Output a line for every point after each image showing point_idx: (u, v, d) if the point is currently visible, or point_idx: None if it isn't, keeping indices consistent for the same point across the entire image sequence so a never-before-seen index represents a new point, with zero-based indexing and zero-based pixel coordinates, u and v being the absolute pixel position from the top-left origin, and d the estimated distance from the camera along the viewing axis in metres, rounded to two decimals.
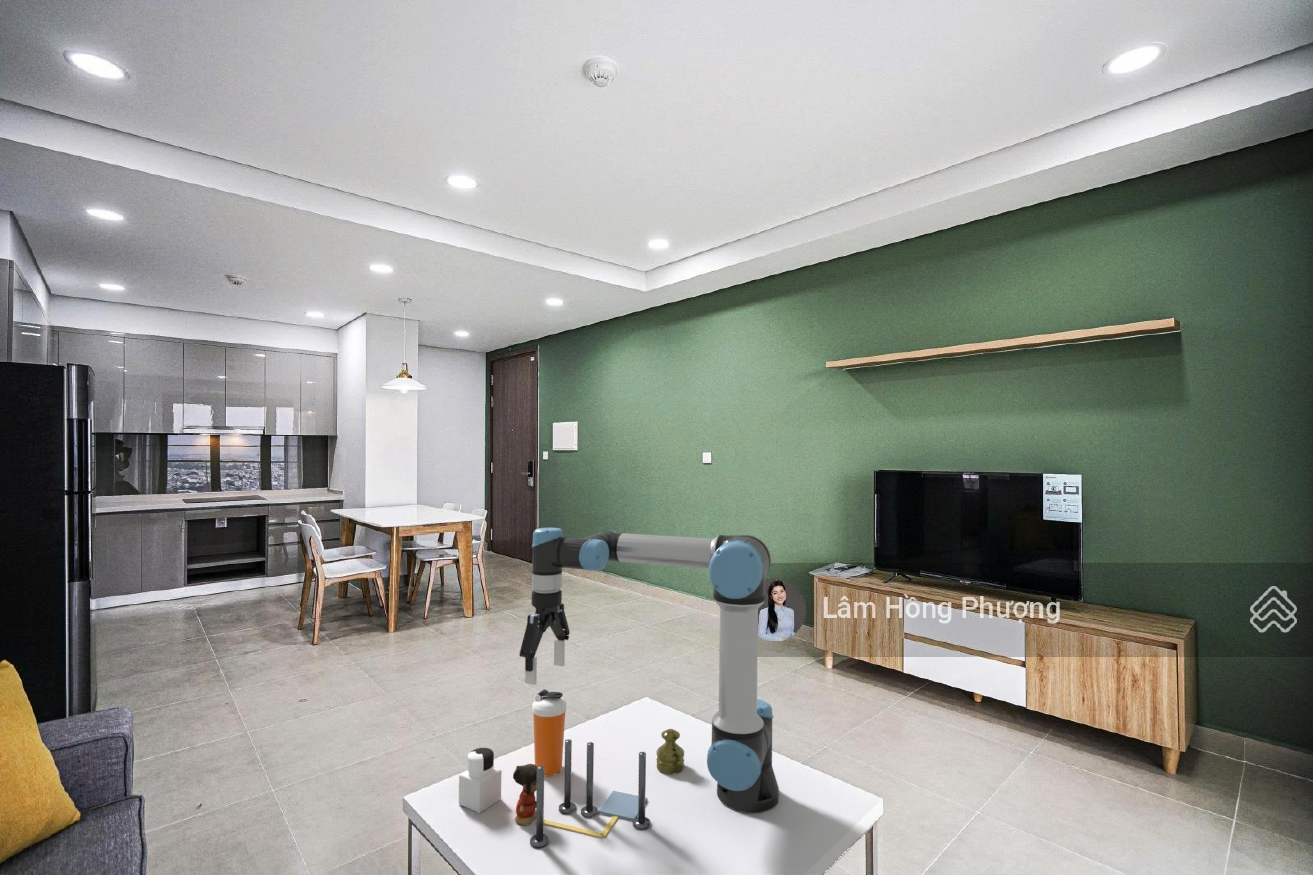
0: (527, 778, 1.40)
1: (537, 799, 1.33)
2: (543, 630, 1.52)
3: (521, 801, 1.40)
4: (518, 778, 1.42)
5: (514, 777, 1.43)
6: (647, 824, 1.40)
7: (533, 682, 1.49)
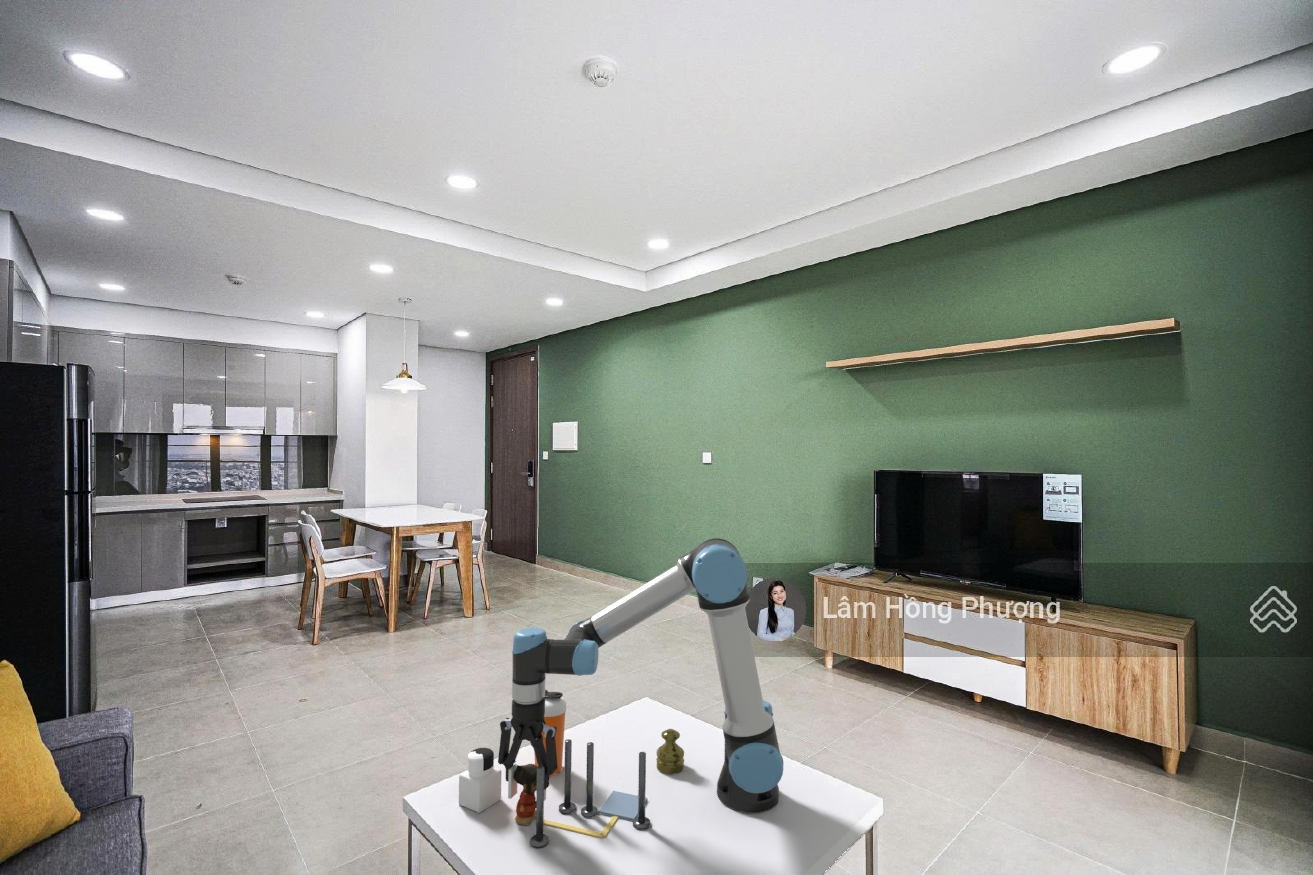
0: (528, 778, 1.40)
1: (537, 799, 1.33)
2: (514, 741, 1.42)
3: (521, 801, 1.40)
4: (518, 778, 1.42)
5: (514, 777, 1.43)
6: (647, 824, 1.40)
7: None
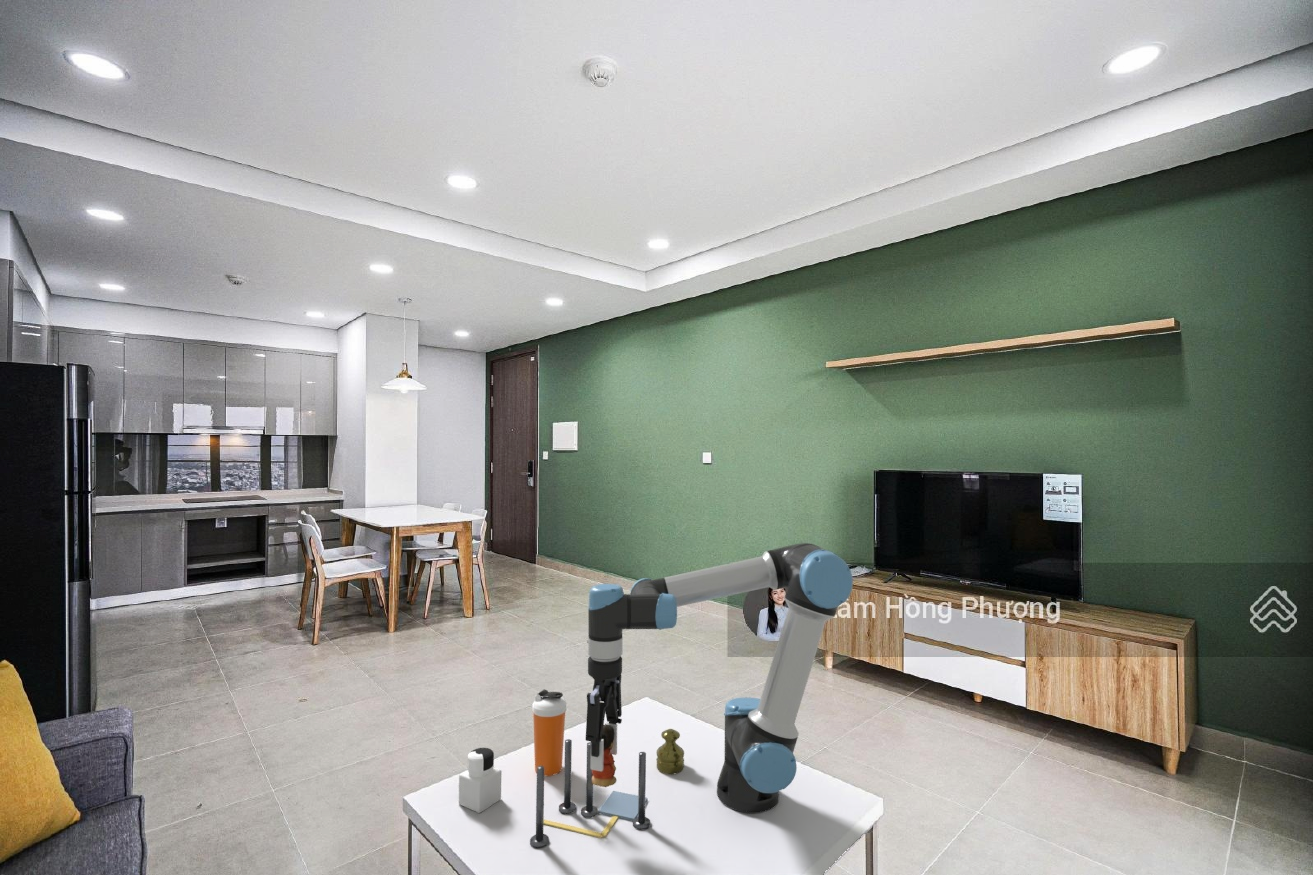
0: (613, 733, 1.37)
1: (537, 799, 1.33)
2: (606, 706, 1.33)
3: (613, 760, 1.35)
4: (607, 741, 1.35)
5: None
6: (647, 824, 1.40)
7: (600, 768, 1.32)
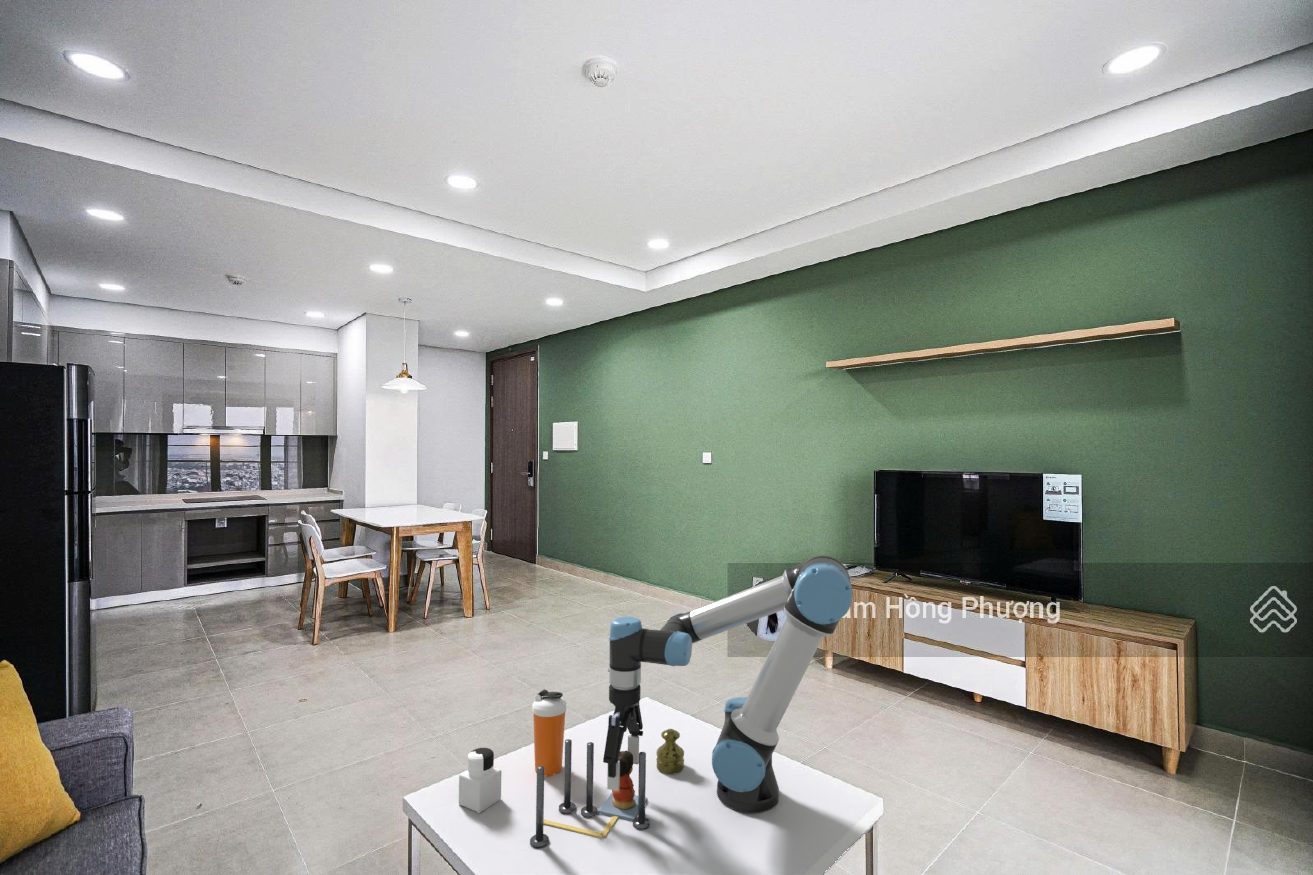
0: (632, 759, 1.48)
1: (537, 799, 1.33)
2: (624, 730, 1.44)
3: (632, 784, 1.47)
4: (627, 767, 1.46)
5: (621, 772, 1.45)
6: (647, 824, 1.40)
7: (616, 788, 1.41)
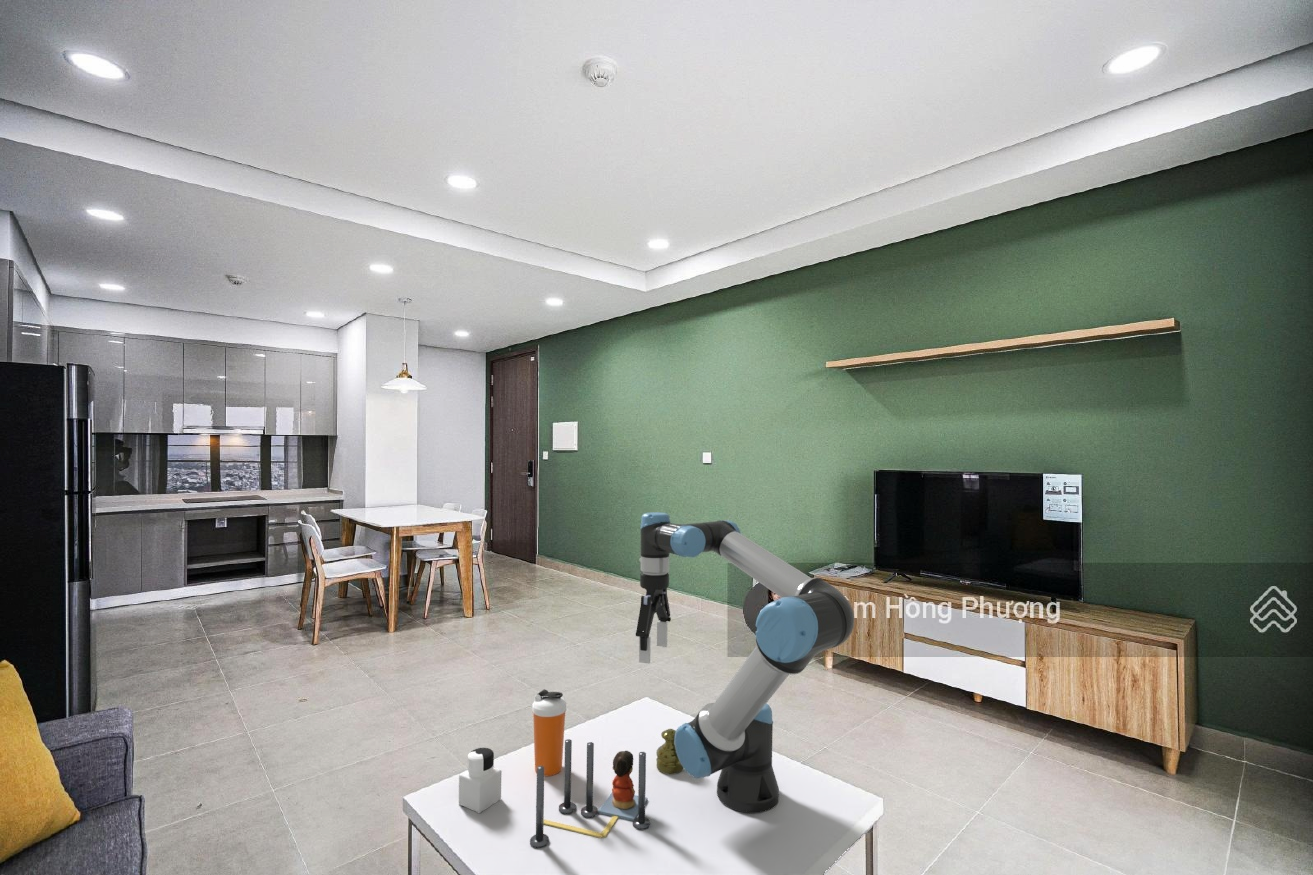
0: (632, 759, 1.48)
1: (537, 799, 1.33)
2: (654, 611, 1.57)
3: (632, 784, 1.47)
4: (627, 767, 1.46)
5: (621, 772, 1.45)
6: (647, 824, 1.40)
7: (647, 661, 1.54)
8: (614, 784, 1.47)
